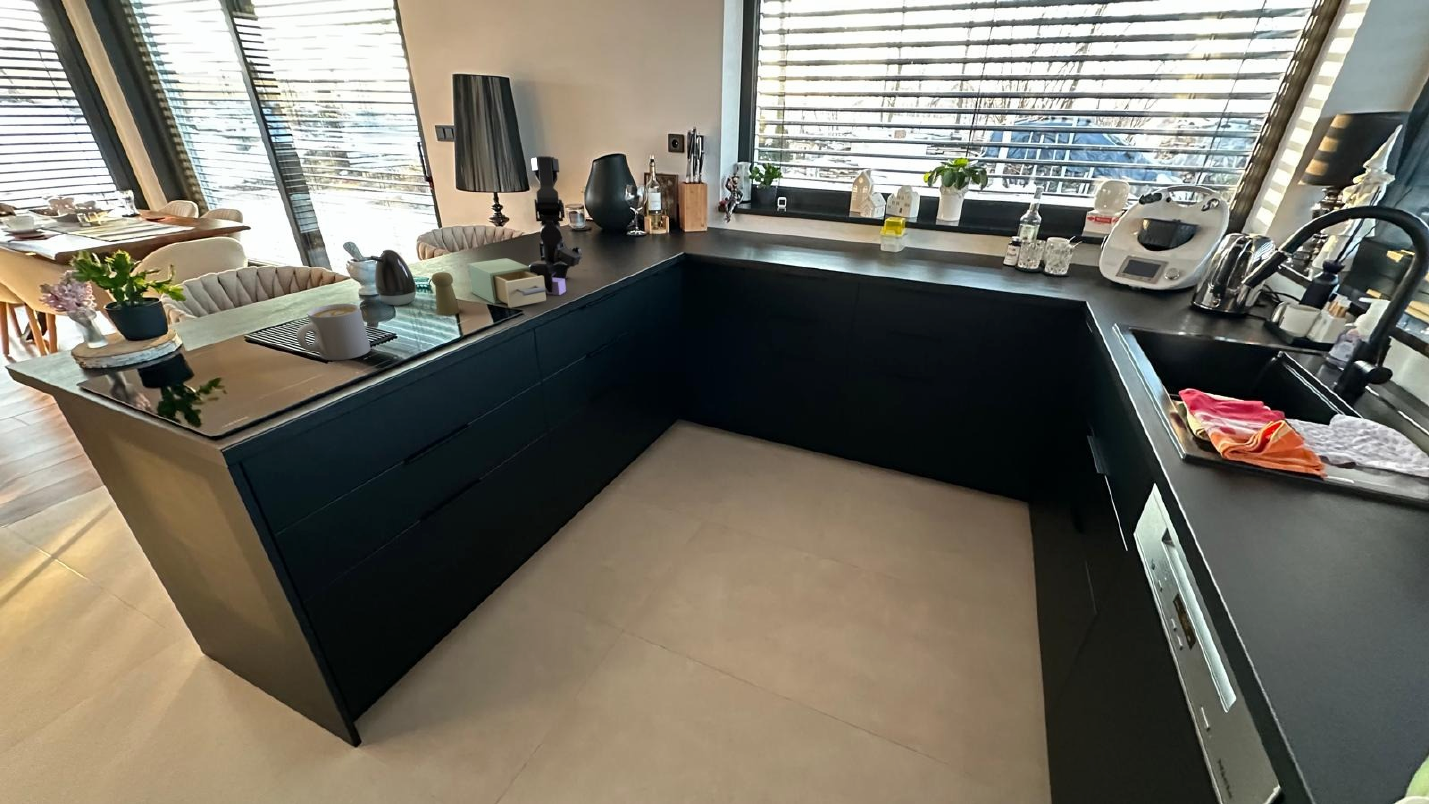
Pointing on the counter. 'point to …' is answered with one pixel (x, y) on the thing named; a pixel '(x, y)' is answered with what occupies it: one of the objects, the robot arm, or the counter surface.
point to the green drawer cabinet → (491, 276)
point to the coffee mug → (335, 332)
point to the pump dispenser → (393, 279)
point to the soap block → (558, 286)
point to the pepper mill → (445, 294)
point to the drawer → (519, 288)
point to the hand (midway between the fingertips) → (556, 289)
